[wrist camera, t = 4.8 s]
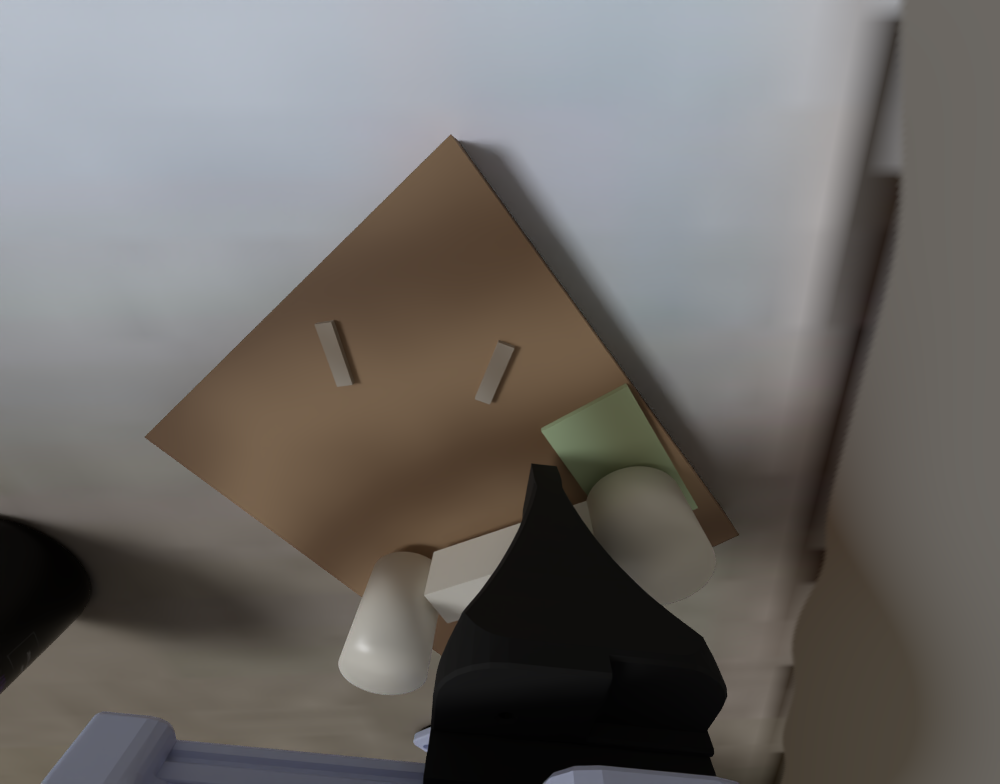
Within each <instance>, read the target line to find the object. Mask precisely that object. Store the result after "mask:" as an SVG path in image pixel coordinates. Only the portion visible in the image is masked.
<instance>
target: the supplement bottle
mask: <svg viewBox="0 0 1000 784" xmlns="http://www.w3.org/2000/svg"><path fill="white" fill-rule="evenodd" d="M90 594H91V586H90V581H89V578H88V575H87V573H86V571H85V570H84V568H83V567H82V565H81V564H80V563H79V561H78V560H77V559H76V558H75V557H74V556H73V555H72V554H71V553H70V552H69V551H67V550H66V549H65V548H64V547H62V546H61V545H60V544H58V543H57V542H55V541H54V540H52V539H51V538H49V537H47V536H45V535H44V534H42V533H40V532H38V531H36V530H33V529H31V528H29V527H26V526H23V525H21V524H18V523H14V522H11V521H7V520H3V519H0V694H1V693H2V692H3V691H4V690H5V689H6V688H7V687H8V686H9V685H10V684H11V683H12V682H13V681H14V680H15V679H16V678H17V677H18V676H19V675H20V674H21V673H22V672H23V671H24V670H25V669H26V668H27V667H28V666H29V665H30V664H31V663H32V662H33V661H34V660H35V659H36V658H37V657H39V656H40V655H41V654H42V653H43V652H44V651H45V650H46V649H47V648H48V647H49V646H50V645H51V644H52V643H53V642H54V641H55V640H56V639H57V638H58V637H59V636H60V635H61V634H62V633H63V632H64V631H65V630H66V629H67V628H68V627H69V626H70V625H71V624H72V623H73V622H74V621H75V620H76V619H77V618H78V617H79V615H80V614H81V613H82V612H83V611H84V609H85V608H86V606H87V604H88V602H89V599H90Z"/></svg>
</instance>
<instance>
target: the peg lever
mask: <svg viewBox="0 0 1000 784" xmlns="http://www.w3.org/2000/svg"><path fill="white" fill-rule="evenodd" d="M573 506H574V508H575V509H576V511H577V512H578V514H579V516H580V517H581V519H582V520H583V521H584V523H585V524H586V526H587V527H588V529H589V530H590V531H591V533H592V534H593V535H594V537H595V538H596V539H597V541H598V542H599V543H600V544H601V546H602V547H603V548H604V549H605V550H606V552H607V553H608V554H609V555H610V556H611V557H612V559H613V560H614V561H615V562H616V563H617V564H618V565H619V566H620V567H621V568H622V569H623V570H624V571H625V572H626V573H627V574H628V575H629V576H630V577H631V578H632V579H633V580H634V581H635V582H636V583H637V584H638V585H639V586H640V587H641V588H642V589H643V590H644V591H646V592H647V593H648V594H649V595H650V596H651V597H652V598H654V599H655V600H656V601H657V602H658V603H659V604H661V605H665V604H670V603H674V602H677V601H680V600H682V599H685V598H687V597H689V596H691V595H693V594H694V593H696V592H697V591H699V590H700V589H701V588H702V587H703V586H704V585H705V584H706V583H707V582H708V581H709V580H710V578H711V577H712V575H713V573H714V570H715V567H716V555H715V552H714V549H713V547H712V545H711V544H710V542H709V540H708V538H707V536H706V535H705V533H704V531H703V529H702V527H701V525H700V524H699V522H698V520H697V518H696V516H695V515H694V513H693V511H692V509H691V507H690V505H689V504H688V502H687V500H686V498H685V496H684V495H683V493H682V491H681V489H680V487H679V486H678V484H677V483H676V481H675V480H674V479H673V478H672V477H671V476H670V475H668V474H667V473H665V472H663V471H661V470H658V469H655V468H651V467H645V466H634V467H627V468H623V469H619V470H616V471H614V472H612V473H610V474H608V475H606V476H605V477H603V478H602V479H600V480H599V481H598V482H597V483H596V484H595V485H594V486H593V488H592V489H591V491H590V492H589V494H588V497H587V500H586V501H584V502H581V503H578V504H575V505H573ZM520 524H521V523H519V524H516V525H513V526H510V527H507V528H504V529H501V530H498V531H495V532H492V533H489V534H486V535H483V536H480V537H477V538H474V539H471V540H468V541H465V542H462V543H459V544H456V545H453V546H450V547H447V548H444V549H441V550H438V551H435V552H434V553H433V557H432V560H431V559H429V558H427V557H426V556H423V555H421V554H417V553H413V552H394V553H390V554H387V555H385V556H383V557H381V558H380V559H379V560H378V561H377V562H376V563H375V565H374V567H373V570H372V573H371V575H370V578H369V581H368V583H367V586H366V589H365V591H364V594H363V597H362V599H361V602H360V605H359V607H358V610H357V613H356V615H355V618H354V621H353V623H352V626H351V629H350V632H349V634H348V637H347V640H346V642H345V645H344V648H343V650H342V653H341V656H340V658H339V662H338V665H339V670H340V672H341V674H342V675H343V676H344V677H345V678H346V679H347V680H348V681H349V682H350V683H352V684H353V685H355V686H357V687H358V688H361V689H363V690H366V691H369V692H372V693H377V694H383V695H399V694H405V693H409V692H412V691H414V690H416V689H418V688H419V687H421V686H422V685H423V684H424V683H425V681H426V679H427V675H428V669H429V664H430V658H431V653H432V647H433V641H434V636H435V630H436V625H437V619H438V614H440V615H441V616H442V618H443V619H444V620H445V621H446V622H447V623H451V622H454V621H458V620H459V618H460V616H461V614H462V612H463V611H464V609H465V608H466V607H467V606H468V605H469V603H470V602H471V601H472V600H473V599H474V597H475V596H476V595H477V594H478V593H479V591H480V590H481V589H482V588H483V586H484V585H485V583H486V582H487V581H488V579H489V578H490V576H491V575H492V574H493V572H494V571H495V569H496V568H497V566H498V565H499V563H500V562H501V560H502V558H503V557H504V555H505V553H506V552H507V550H508V548H509V546H510V545H511V543H512V541H513V539H514V537H515V535H516V533H517V531H518V529H519V526H520Z"/></svg>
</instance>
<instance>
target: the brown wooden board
mask: <svg viewBox="0 0 1000 784" xmlns="http://www.w3.org/2000/svg"><path fill="white" fill-rule="evenodd" d="M145 438H146V439H148V440H149V441H150V442H152V443H153V444H154V445H156V446H157V447H159V448H160V449H161V450H163V451H164V452H165V453H167V454H168V455H169V456H171V457H172V458H173V459H175V460H176V461H178V462H179V463H180V464H182V465H183V466H184V467H186V468H187V469H188V470H190V471H191V472H193V473H194V474H195V475H197V476H198V477H199V478H201V479H202V480H203V481H205V482H206V483H207V484H209V485H210V486H212V487H213V488H214V489H216V490H217V491H218V492H220V493H221V494H222V495H224V496H225V497H227V498H228V499H229V500H231V501H232V502H233V503H235V504H236V505H237V506H239V507H240V508H241V509H243V510H244V511H246V512H247V513H248V514H250V515H251V516H252V517H254V518H255V519H256V520H258V521H259V522H260V523H262V524H263V525H265V526H266V527H267V528H269V529H270V530H271V531H273V532H274V533H275V534H277V535H278V536H280V537H281V538H282V539H284V540H285V541H286V542H288V543H289V544H290V545H292V546H293V547H294V548H296V549H297V550H299V551H300V552H301V553H303V554H304V555H305V556H307V557H308V558H309V559H311V560H312V561H314V562H315V563H316V564H318V565H319V566H320V567H322V568H323V569H324V570H326V571H327V572H328V573H330V574H331V575H333V576H334V577H335V578H337V579H338V580H339V581H341V582H342V583H343V584H345V585H346V586H347V587H349V588H350V589H352V590H353V591H354V592H356V593H357V594H358V595H360V596H361V597H363V594H364V591H365V589H366V586H367V583H368V581H369V578H370V575H371V573H372V570H373V567H374V565H375V563H376V562H377V561H378V560H379V559H380V558H381V557H383V556H385V555H387V554H390V553H394V552H413V553H417V554H421V555H423V556H426V557H427V558H429V559H431V560H432V557H433V553H434V552H435V551H438V550H441V549H444V548H447V547H450V546H453V545H456V544H459V543H462V542H465V541H468V540H471V539H474V538H477V537H480V536H483V535H486V534H489V533H492V532H495V531H498V530H501V529H504V528H507V527H510V526H513V525H516V524H519V523H521V522H522V514H523V506H524V501H525V495H526V490H527V484H528V479H529V473H530V468H531V463H533V464H542V465H551V466H557V468H558V471H559V473H560V476H561V480H562V488H563V489H564V491H565V493H566V495H567V496H568V498H569V500H570V501H571V503H572V505H575V504H578V503H581V502H584V501H586V500H587V497H588V494H589V492H590V491H591V489H592V488H593V486H594V485H595V484H596V483H597V482H598V481H599V480H600V479H602V478H603V477H605V476H606V475H608V474H610V473H612V472H614V471H616V470H619V469H623V468H627V467H634V466H645V467H651V468H655V469H658V470H661V471H663V472H665V473H667V474H668V475H670V476H671V477H672V478H673V479H674V480H675V481H676V483H677V484H678V486H679V487H680V489H681V491H682V493H683V495H684V496H685V498H686V500H687V502H688V504H689V505H690V507H691V509H692V511H693V513H694V515H695V516H696V518H697V520H698V522H699V524H700V525H701V527H702V529H703V531H704V533H705V535H706V536H707V538H708V540H709V542H710V544H711V545H712V547H714V546H716V545H718V544H721V543H723V542H725V541H727V540H729V539H732V538H734V537H736V536H738V535H739V534H738V532H737V531H736V529H735V528H734V526H733V525H732V523H731V521H730V520H729V518H728V517H727V515H726V514H725V512H724V511H723V509H722V508H721V507H720V505H719V504H718V502H717V501H716V500H715V498H714V497H713V495H712V494H711V493H710V491H709V490H708V488H707V487H706V486H705V484H704V483H703V482H702V480H701V479H700V477H699V476H698V475H697V473H696V472H695V470H694V469H693V468H692V466H691V465H690V463H689V462H688V461H687V459H686V458H685V456H684V455H683V454H682V452H681V451H680V449H679V448H678V447H677V445H676V444H675V443H674V441H673V440H672V438H671V437H670V436H669V434H668V433H667V431H666V430H665V429H664V427H663V426H662V424H661V423H660V422H659V420H658V419H657V417H656V416H655V415H654V413H653V412H652V410H651V409H650V408H649V406H648V405H647V404H646V402H645V401H644V399H643V398H642V397H641V395H640V394H639V392H638V391H637V390H636V388H635V387H634V385H633V384H632V383H631V381H630V380H629V378H628V377H627V376H626V374H625V373H624V371H623V370H622V369H621V367H620V366H619V365H618V363H617V362H616V360H615V359H614V358H613V356H612V355H611V353H610V352H609V351H608V349H607V348H606V346H605V345H604V344H603V342H602V341H601V339H600V338H599V337H598V335H597V334H596V332H595V331H594V330H593V328H592V327H591V325H590V324H589V323H588V321H587V320H586V319H585V317H584V316H583V314H582V313H581V312H580V310H579V309H578V307H577V306H576V305H575V303H574V302H573V300H572V299H571V298H570V296H569V295H568V293H567V292H566V291H565V289H564V288H563V286H562V285H561V284H560V282H559V281H558V280H557V278H556V277H555V275H554V274H553V273H552V271H551V270H550V268H549V267H548V266H547V264H546V263H545V261H544V260H543V259H542V257H541V256H540V254H539V253H538V252H537V250H536V249H535V247H534V246H533V245H532V243H531V242H530V241H529V239H528V238H527V236H526V235H525V234H524V232H523V231H522V229H521V228H520V227H519V225H518V224H517V222H516V221H515V220H514V218H513V217H512V215H511V214H510V213H509V211H508V210H507V208H506V207H505V206H504V204H503V203H502V202H501V200H500V199H499V197H498V196H497V195H496V193H495V192H494V190H493V189H492V188H491V186H490V185H489V183H488V182H487V181H486V179H485V178H484V176H483V175H482V174H481V172H480V171H479V169H478V168H477V167H476V165H475V164H474V163H473V161H472V160H471V158H470V157H469V156H468V154H467V153H466V151H465V150H464V149H463V147H462V146H461V144H460V143H459V142H458V140H457V139H456V138H454V137H453V136H452V135H450V136H449V137H448V138H447V139H446V140H445V141H444V142H443V143H442V144H441V145H440V146H439V147H438V148H437V149H435V150H434V151H433V152H432V153H431V154H430V155H429V156H428V157H427V158H426V159H425V160H424V161H423V162H422V163H421V164H420V165H419V166H418V167H417V168H416V169H415V170H414V171H413V172H412V173H411V174H410V175H409V176H408V177H407V178H406V179H405V180H404V181H403V182H402V183H401V184H400V185H399V186H398V187H397V188H396V189H395V190H394V191H393V192H392V193H391V194H390V195H389V196H388V197H387V198H386V199H385V200H384V201H383V202H382V203H381V204H380V205H379V206H378V207H377V208H376V209H375V210H374V211H373V212H372V213H371V214H370V215H369V216H368V217H367V218H366V219H365V220H364V221H363V222H362V223H361V224H360V225H359V226H358V227H357V228H356V229H355V230H354V231H353V232H352V233H351V234H349V235H348V236H347V237H346V238H345V239H344V240H343V241H342V242H341V243H340V244H339V245H338V246H337V247H336V248H335V249H334V250H333V251H332V252H331V253H330V254H329V255H328V256H327V257H326V258H325V259H324V260H323V261H322V262H321V263H320V264H319V265H318V266H317V267H316V268H315V269H314V270H313V271H312V272H311V273H310V274H309V275H308V276H307V277H306V278H305V279H304V280H303V281H302V282H301V283H300V284H299V285H298V286H297V287H296V288H295V289H294V290H293V291H292V292H291V293H290V294H289V295H288V296H287V297H286V298H285V299H284V300H283V301H282V302H281V303H280V304H279V305H278V306H277V307H276V308H275V309H274V310H273V311H272V312H271V313H270V314H269V315H268V316H267V317H266V318H264V319H263V320H262V321H261V322H260V323H259V324H258V325H257V326H256V327H255V328H254V329H253V330H252V331H251V332H250V333H249V334H248V335H247V336H246V337H245V338H244V339H243V340H242V341H241V342H240V343H239V344H238V345H237V346H236V347H235V348H234V349H233V350H232V351H231V352H230V353H229V354H228V355H227V356H226V357H225V358H224V359H223V360H222V361H221V362H220V363H219V364H218V365H217V366H216V367H215V368H214V369H213V370H212V371H211V372H210V373H209V374H208V375H207V376H206V377H205V378H204V379H203V380H202V381H201V382H200V383H199V384H198V385H197V386H196V387H195V388H194V389H193V390H192V391H191V392H190V393H189V394H188V395H187V396H186V397H185V398H184V399H183V400H182V401H181V402H180V403H178V404H177V405H176V406H175V407H174V408H173V409H172V410H171V411H170V412H169V413H168V414H167V415H166V416H165V417H164V418H163V419H162V420H161V421H160V422H159V423H158V424H157V425H156V426H155V427H154V428H153V429H152V430H151V431H150V432H149V433H148V434H147V435H146V436H145ZM457 622H458V621H454V622H451V623H447V622H446V621H445V620H444V619H443V618H442V616H441V615H440V614H438V619H437V625H436V630H435V636H434V641H433V647H432V649H433V650H435V651H436V652H437V653H439V654H440V655H441V656H442V654H443V651H444V649H445V647H446V644H447V642H448V640H449V638H450V636H451V634H452V632H453V630H454V628H455V626H456V624H457Z"/></svg>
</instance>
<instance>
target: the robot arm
mask: <svg viewBox="0 0 1000 784" xmlns="http://www.w3.org/2000/svg"><path fill="white" fill-rule="evenodd" d="M726 698H727V687H726V685H725V682H724V680H723V678H722V675H721V673H720V671H719V668H718V666H717V664H716V662H715V659H714V657H713V655H712V653H711V652H710V650H709V648H708V646H707V644H706V642H705V640H704V638H703V637H702V636H701V635H699V634H698V633H697V632H695V631H694V630H693V629H691V628H690V627H689V626H687V625H686V624H685V623H683V622H682V621H681V620H680V619H678V618H677V617H676V616H674V615H673V614H672V613H670V612H669V611H668V610H667V609H665V608H664V607H663V606H662V605H661V604H659V603H658V602H657V601H656V600H655V599H654V598H652V597H651V596H650V595H649V594H648V593H647V592H646V591H644V590H643V589H642V588H641V587H640V586H639V585H638V584H637V583H636V582H635V581H634V580H633V579H632V578H631V577H630V576H629V575H628V574H627V573H626V572H625V571H624V570H623V569H622V568H621V567H620V566H619V565H618V564H617V563H616V562H615V561H614V560H613V559H612V557H611V556H610V555H609V554H608V553H607V552H606V550H605V549H604V548H603V547H602V546H601V544H600V543H599V542H598V541H597V539H596V538H595V537H594V535H593V534H592V533H591V531H590V530H589V529H588V527H587V526H586V524H585V523H584V521H583V520H582V519H581V517H580V516H579V514H578V512H577V511H576V509H575V508H574V506H573V505H572V503H571V501H570V500H569V498H568V496H567V495H566V493H565V491H564V489H563V488H562V480H561V476H560V473H559V471H558V468H557V466H551V465H542V464H533V463H531V468H530V473H529V479H528V484H527V490H526V495H525V501H524V506H523V514H522V522H521V524H520V526H519V529H518V531H517V533H516V535H515V537H514V539H513V541H512V543H511V545H510V546H509V548H508V550H507V552H506V553H505V555H504V557H503V558H502V560H501V562H500V563H499V565H498V566H497V568H496V569H495V571H494V572H493V574H492V575H491V576H490V578H489V579H488V581H487V582H486V583H485V585H484V586H483V588H482V589H481V590H480V591H479V593H478V594H477V595H476V596H475V597H474V599H473V600H472V601H471V602H470V603H469V605H468V606H467V607H466V608H465V609H464V611H463V612H462V614H461V616H460V618H459V620H458V622H457V624H456V626H455V628H454V630H453V632H452V634H451V636H450V638H449V640H448V642H447V644H446V647H445V649H444V651H443V654H442V656H441V659H440V662H439V665H438V669H437V674H436V680H435V687H434V693H433V705H432V719H431V727H429V728H427V729H424V730H422V731H419V732H417V733H416V734H415V736H414V741H413V742H414V744H415V745H416V746H418V747H419V748H421V749H423V750H424V751H426V752H427V756H426V763H416V762H405V761H395V760H384V759H374V758H363V757H353V756H342V755H331V754H321V753H310V752H300V751H289V750H279V749H268V748H258V747H247V746H237V745H226V744H215V743H205V742H194V741H184V740H176V736H175V731H174V729H173V727H172V725H171V724H170V723H169V722H167V721H165V720H163V719H161V718H158V717H153V716H145V715H134V714H124V713H113V712H100V713H98V714H96V715H95V716H94V717H93V718H92V719H91V721H90V722H89V723H88V724H87V726H86V727H85V728H84V729H83V731H82V732H81V733H80V735H79V736H78V737H77V738H76V740H75V741H74V742H73V743H72V745H71V746H70V747H69V748H68V750H67V751H66V752H65V753H64V755H63V756H62V757H61V758H60V760H59V761H58V762H57V763H56V765H55V766H54V767H53V768H52V770H51V771H50V772H49V774H48V775H47V776H46V777H45V779H44V780H43V781H42V782H41V784H739V783H738V782H736V781H732V780H728V779H724V778H720V777H716V774H715V771H714V768H713V765H712V762H711V759H710V757H712V756H713V755H714V748H713V745H712V742H711V739H710V737H709V734H708V731H707V730H708V728H709V727H710V725H711V724H712V723H713V721H714V720H715V718H716V717H717V715H718V714H719V712H720V711H721V709H722V707H723V705H724V703H725V700H726Z"/></svg>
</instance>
